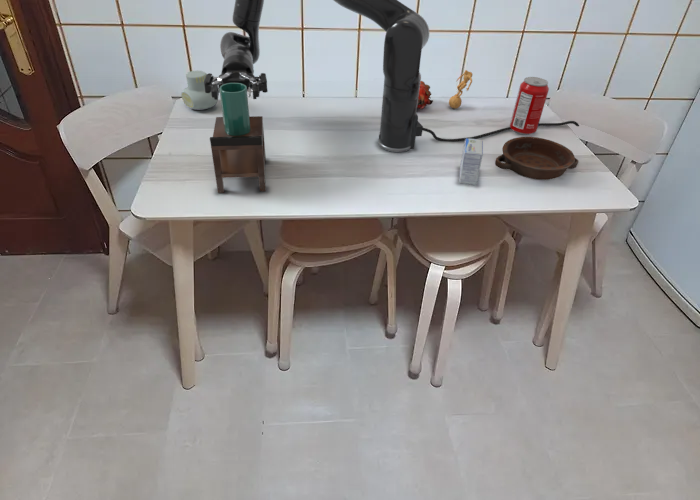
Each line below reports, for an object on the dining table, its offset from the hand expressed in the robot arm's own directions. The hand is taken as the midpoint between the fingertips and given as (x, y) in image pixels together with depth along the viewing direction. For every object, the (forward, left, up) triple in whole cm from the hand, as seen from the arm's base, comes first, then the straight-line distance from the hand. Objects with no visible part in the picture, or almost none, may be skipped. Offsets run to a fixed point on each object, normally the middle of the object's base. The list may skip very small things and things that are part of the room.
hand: (235, 95), depth 112 cm
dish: (-75, +3, -20) cm, 78 cm away
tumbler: (0, +2, -7) cm, 8 cm away
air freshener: (+14, -40, -20) cm, 47 cm away
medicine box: (-56, +6, -20) cm, 60 cm away
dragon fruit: (-53, -37, -20) cm, 68 cm away
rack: (0, +2, -19) cm, 20 cm away
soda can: (-81, -19, -20) cm, 86 cm away
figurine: (-66, -36, -20) cm, 78 cm away
